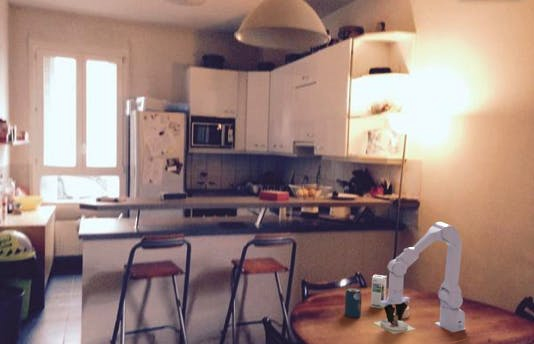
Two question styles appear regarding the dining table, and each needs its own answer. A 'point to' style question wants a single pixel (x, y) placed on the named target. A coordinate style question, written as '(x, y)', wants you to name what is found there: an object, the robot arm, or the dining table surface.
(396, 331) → the mat
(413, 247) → the robot arm
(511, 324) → the dining table surface
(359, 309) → the soda can
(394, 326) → the lid
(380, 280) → the syrup box
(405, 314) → the bowl
